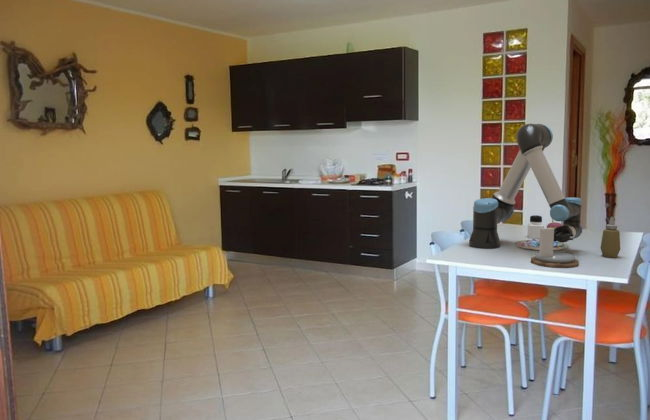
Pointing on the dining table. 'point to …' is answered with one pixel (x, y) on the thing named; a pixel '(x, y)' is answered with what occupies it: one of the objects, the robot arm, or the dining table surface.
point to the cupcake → (553, 225)
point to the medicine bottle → (535, 227)
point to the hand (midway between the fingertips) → (545, 240)
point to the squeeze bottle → (610, 240)
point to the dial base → (554, 265)
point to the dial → (551, 249)
